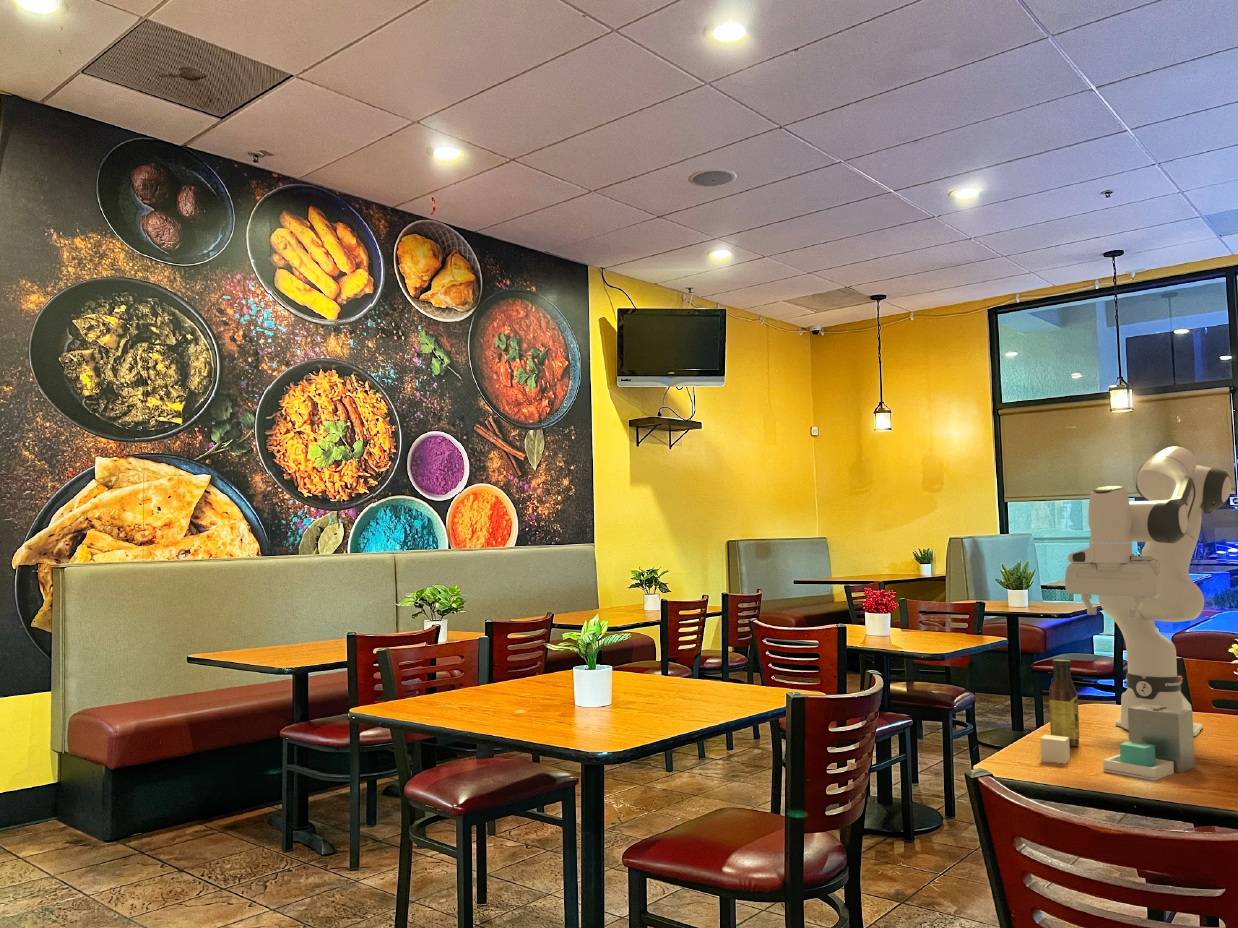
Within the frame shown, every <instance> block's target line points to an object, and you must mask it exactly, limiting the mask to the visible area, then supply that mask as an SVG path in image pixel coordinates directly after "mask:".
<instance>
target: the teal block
mask: <svg viewBox="0 0 1238 928" xmlns="http://www.w3.org/2000/svg"><path fill="white" fill-rule="evenodd" d="M1119 754H1120V762H1123V763H1129V764H1134V765H1140V766H1146V767H1155V766H1156V764H1155V745H1151V744H1145V743H1139V742H1132V741H1129V740H1128V741H1126V742H1123V743H1120V744H1119Z"/></svg>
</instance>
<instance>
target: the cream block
mask: <svg viewBox="0 0 1238 928" xmlns="http://www.w3.org/2000/svg"><path fill="white" fill-rule="evenodd" d="M1070 755H1071V754H1070V746H1069V737H1063V736H1054V735H1051V734H1043V735H1042V736H1041V737H1040V761H1041V762H1046V763H1052V762H1057V763H1056V764H1060V763H1063V764H1062V765H1067V764H1068V763H1069V761H1070V760H1071V756H1070ZM1067 762H1068V763H1067ZM1066 763H1067V764H1066Z"/></svg>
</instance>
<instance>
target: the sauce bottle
mask: <svg viewBox="0 0 1238 928" xmlns="http://www.w3.org/2000/svg"><path fill="white" fill-rule="evenodd" d="M1051 660H1052V662H1051V663H1052V667H1053V680H1052V682H1051V684H1050V685H1049V689H1048V692H1049V694H1048V695H1049V699H1048V704H1049V705H1048V707H1049V724H1050V725H1049V726H1050V728H1049V729H1050V735H1054V736H1063V737H1069V747H1073V748H1074V747H1078V746H1079V745H1080V736H1081V735H1080V720H1079V719H1080V717H1079V716H1080V715H1079V699H1078V698H1079V697H1078V695H1079V694H1078V692H1077V690H1076V687H1075V685H1074V682H1073V680H1072V675H1071V674H1072V673H1071V668H1072V661H1071V660H1070V659H1061V658H1060V659H1057V658H1056V659H1051Z"/></svg>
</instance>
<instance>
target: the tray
mask: <svg viewBox="0 0 1238 928" xmlns="http://www.w3.org/2000/svg"><path fill="white" fill-rule="evenodd" d="M1102 761H1103V762H1102V763H1103V764H1102V765H1103V772H1107V773H1112V774H1118V775H1123V776H1127V777H1134V778H1139V779H1145V780H1150V781H1158V780H1159V779H1162V778H1164V777H1167V776H1169V775H1172V774H1174V773H1175V772H1174V766H1173V761H1167V760H1161V759H1155V764H1156V766H1155V767H1146V766H1140V765H1134V764H1129V763H1123V762H1120V753H1119V754H1117V755H1114V756H1110V757H1108V758H1105V759H1102Z"/></svg>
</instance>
